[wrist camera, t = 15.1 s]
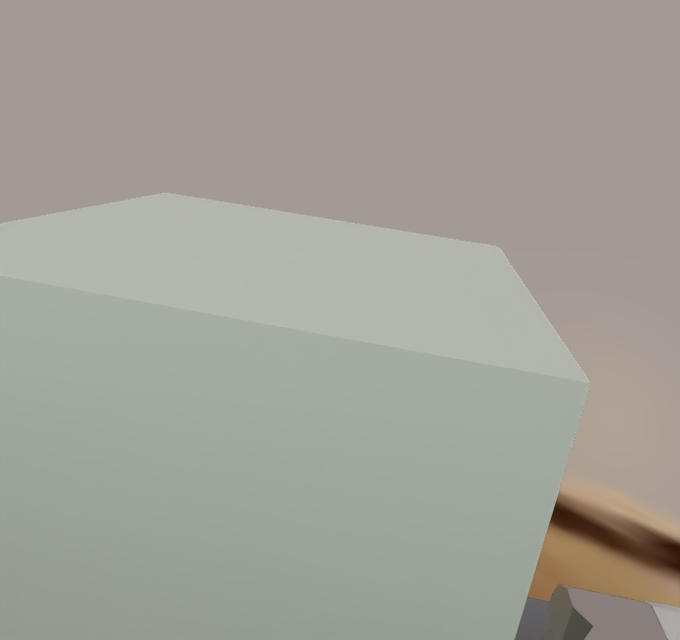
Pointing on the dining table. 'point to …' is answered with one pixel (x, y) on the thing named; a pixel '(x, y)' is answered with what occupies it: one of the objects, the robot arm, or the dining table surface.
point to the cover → (270, 428)
